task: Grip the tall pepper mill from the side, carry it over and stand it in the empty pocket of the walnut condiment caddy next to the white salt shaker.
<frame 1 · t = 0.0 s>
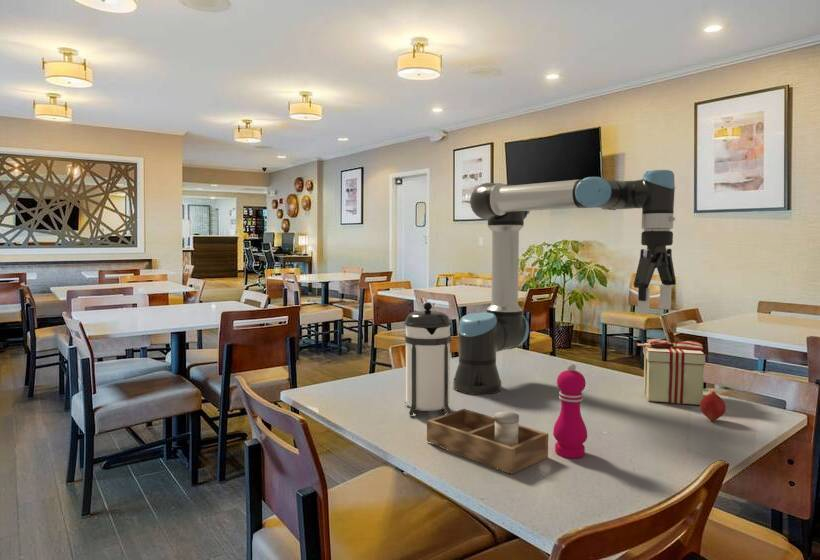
hand: (654, 311, 144), 28 cm above the table, tool pointing down, fingers open, 13 cm apart
pepper mill: (569, 453, 120), on the table
coffee press: (425, 409, 151), on the table
gift box: (668, 396, 164), on the table
caddy: (485, 449, 122), on the table
onion: (711, 421, 141), on the table
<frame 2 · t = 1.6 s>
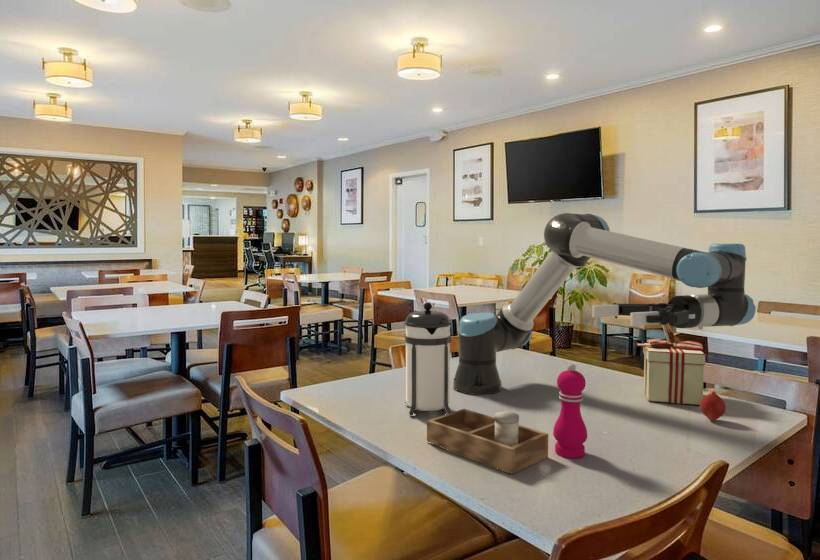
hand: (611, 315, 121), 30 cm above the table, tool horizontal, fingers open, 13 cm apart
nothing on the table moved.
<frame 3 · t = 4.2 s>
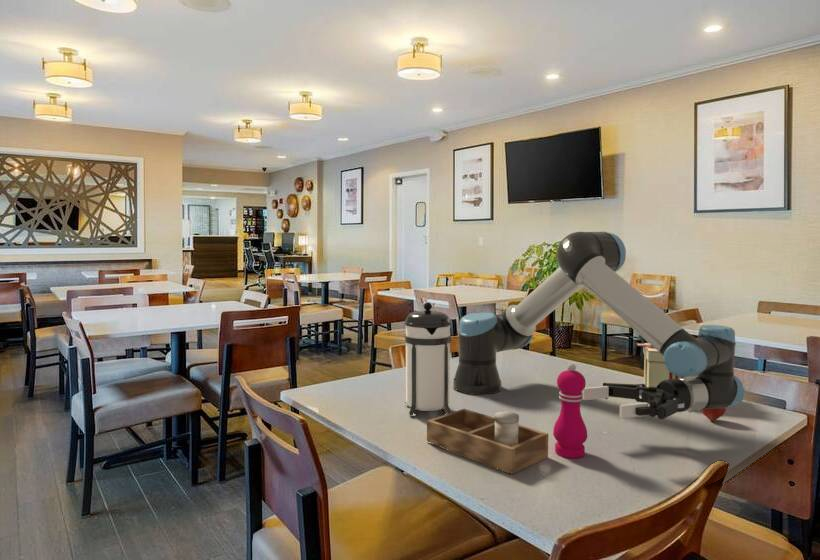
hand: (600, 402, 121), 11 cm above the table, tool horizontal, fingers open, 13 cm apart
nothing on the table moved.
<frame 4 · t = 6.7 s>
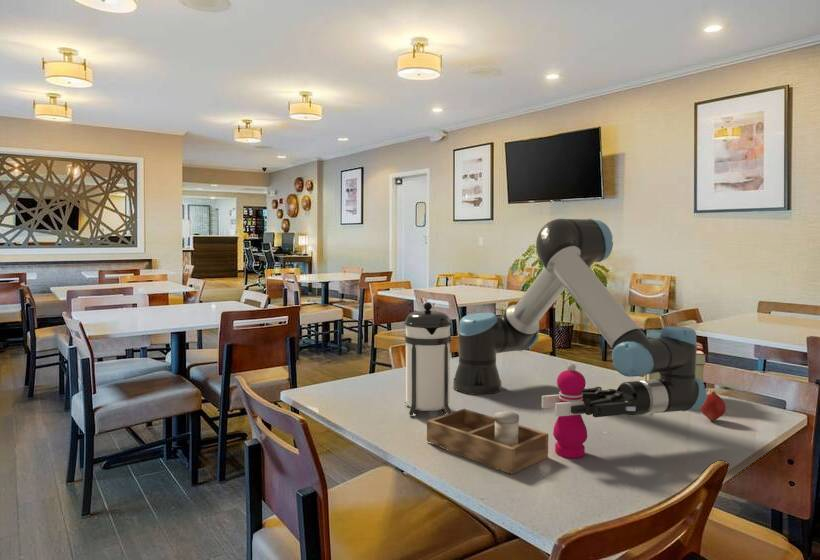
hand: (549, 405, 118), 11 cm above the table, tool horizontal, fingers closed on pepper mill, 5 cm apart
pepper mill: (569, 453, 120), on the table, touching gripper
everything else where it was.
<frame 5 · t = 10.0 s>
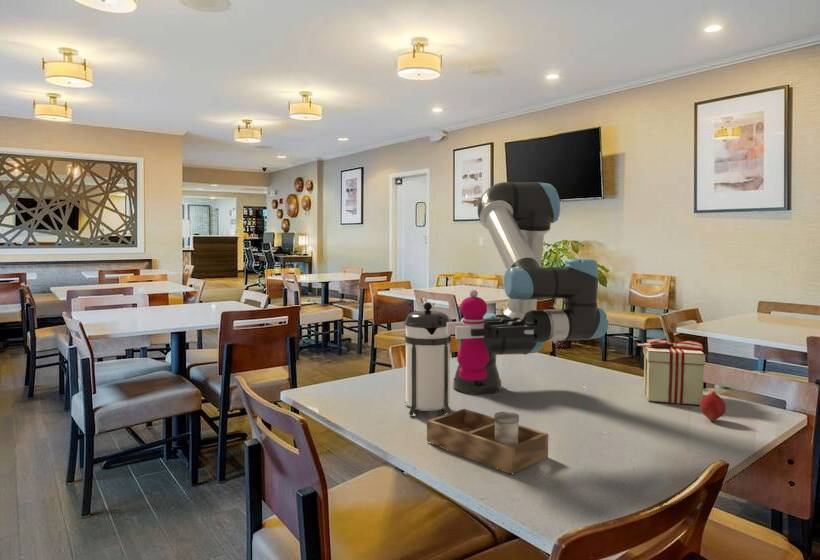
hand: (451, 330, 122), 27 cm above the table, tool horizontal, fingers closed on pepper mill, 5 cm apart
pepper mill: (472, 378, 124), point 15 cm above the table, touching gripper
everything else where it was.
when the fingers open (14 cm above the table, at t = 13.6 s): pepper mill drops 2 cm, resting on caddy.
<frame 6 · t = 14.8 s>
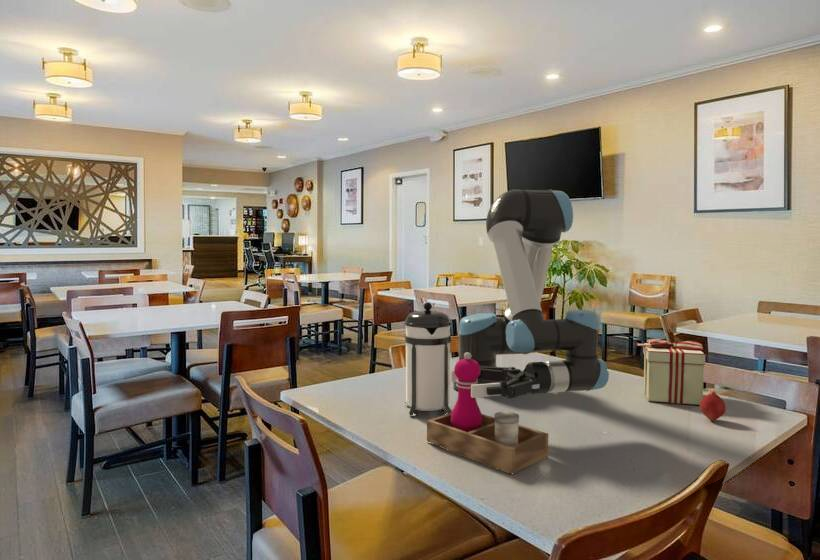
hand: (460, 383, 125), 14 cm above the table, tool horizontal, fingers open, 13 cm apart
pepper mill: (465, 438, 126), point 1 cm above the table, touching caddy
everything else where it was.
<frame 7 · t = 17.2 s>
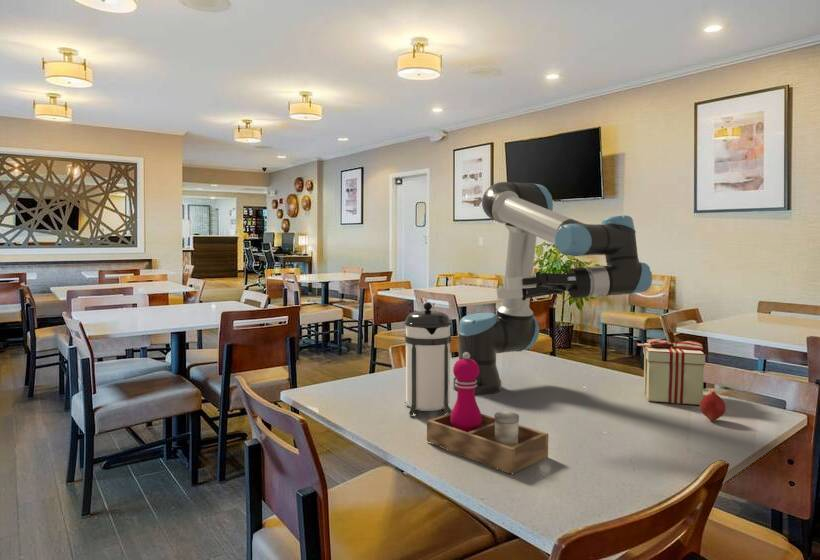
hand: (502, 289, 135), 35 cm above the table, tool horizontal, fingers open, 13 cm apart
nothing on the table moved.
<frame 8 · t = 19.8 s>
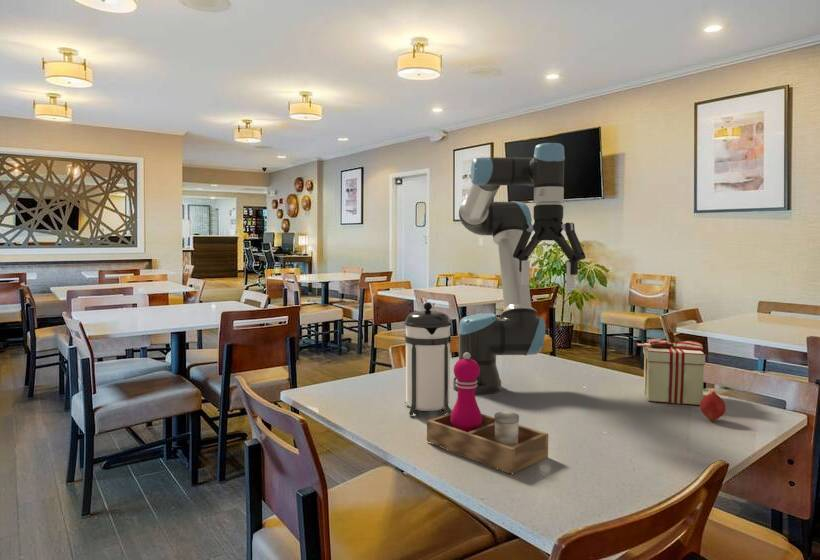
hand: (547, 286, 143), 35 cm above the table, tool pointing down, fingers open, 13 cm apart
nothing on the table moved.
at the end: pepper mill inside the target area on the caddy (0.0 cm from its centre), point 1.0 cm above the caddy's base; pepper mill tilted 0°; the gripper is holding nothing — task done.
